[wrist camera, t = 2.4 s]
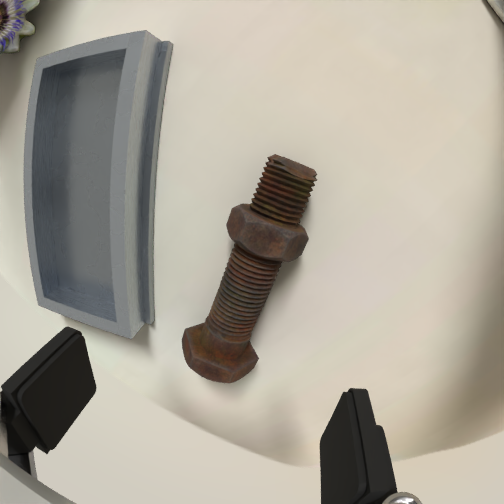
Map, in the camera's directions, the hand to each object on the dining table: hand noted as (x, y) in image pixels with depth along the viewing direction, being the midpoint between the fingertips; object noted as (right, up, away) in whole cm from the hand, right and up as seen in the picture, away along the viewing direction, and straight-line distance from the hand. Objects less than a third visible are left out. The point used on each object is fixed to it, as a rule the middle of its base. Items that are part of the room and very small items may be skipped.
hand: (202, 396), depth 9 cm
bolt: (+2, +4, +12) cm, 13 cm away
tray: (-11, +10, +12) cm, 19 cm away
